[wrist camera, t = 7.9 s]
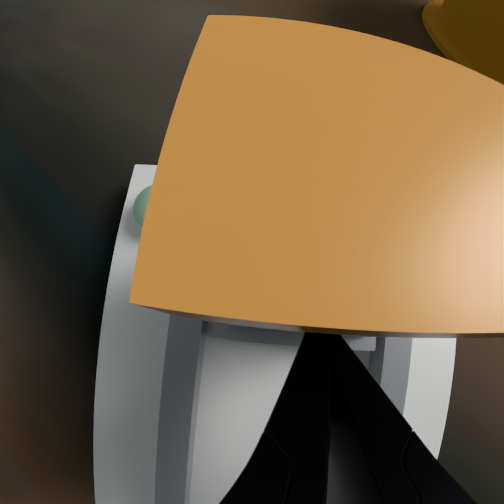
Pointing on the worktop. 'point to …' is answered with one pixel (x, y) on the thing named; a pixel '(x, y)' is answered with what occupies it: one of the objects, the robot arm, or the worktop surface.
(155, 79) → the worktop surface
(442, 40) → the spool
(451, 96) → the breaker handle
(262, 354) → the white rail base plate
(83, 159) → the worktop surface
